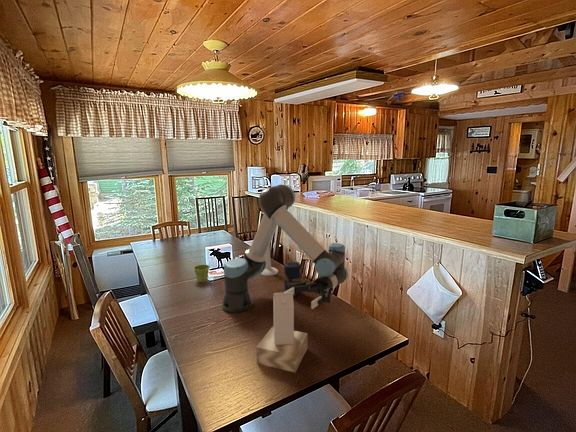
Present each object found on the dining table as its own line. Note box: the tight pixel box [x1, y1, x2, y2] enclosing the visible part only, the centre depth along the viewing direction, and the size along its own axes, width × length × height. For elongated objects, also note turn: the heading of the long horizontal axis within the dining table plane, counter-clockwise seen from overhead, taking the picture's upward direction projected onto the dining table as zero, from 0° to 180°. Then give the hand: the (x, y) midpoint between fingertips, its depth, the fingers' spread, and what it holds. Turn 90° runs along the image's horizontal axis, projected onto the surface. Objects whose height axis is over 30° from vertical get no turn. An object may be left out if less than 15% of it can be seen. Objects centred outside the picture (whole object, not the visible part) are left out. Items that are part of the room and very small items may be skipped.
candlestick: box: [260, 244, 279, 277], centre depth 205 cm, size 13×13×30 cm
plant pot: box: [193, 264, 211, 283], centre depth 193 cm, size 9×9×9 cm
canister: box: [283, 261, 303, 297], centre depth 174 cm, size 10×10×18 cm
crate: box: [255, 326, 308, 374], centre depth 121 cm, size 15×15×7 cm
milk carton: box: [272, 292, 295, 345], centre depth 119 cm, size 7×7×19 cm
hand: (297, 300), depth 125 cm, fingers open, 13 cm apart
